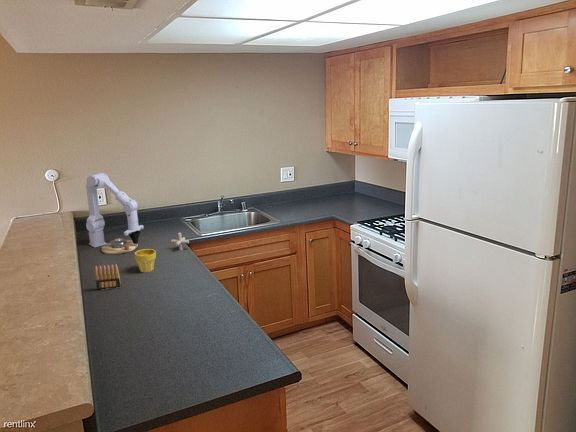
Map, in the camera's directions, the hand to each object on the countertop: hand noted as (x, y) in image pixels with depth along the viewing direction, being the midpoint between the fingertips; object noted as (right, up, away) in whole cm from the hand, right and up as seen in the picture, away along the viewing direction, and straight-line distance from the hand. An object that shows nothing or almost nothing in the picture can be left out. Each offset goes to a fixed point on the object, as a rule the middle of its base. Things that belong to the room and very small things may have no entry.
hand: (135, 243), depth 265 cm
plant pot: (+17, -12, -32) cm, 38 cm away
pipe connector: (+27, -3, -4) cm, 28 cm away
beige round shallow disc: (-9, -3, 0) cm, 10 cm away
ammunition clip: (+5, -18, -53) cm, 56 cm away
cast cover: (-10, -1, 0) cm, 10 cm away
